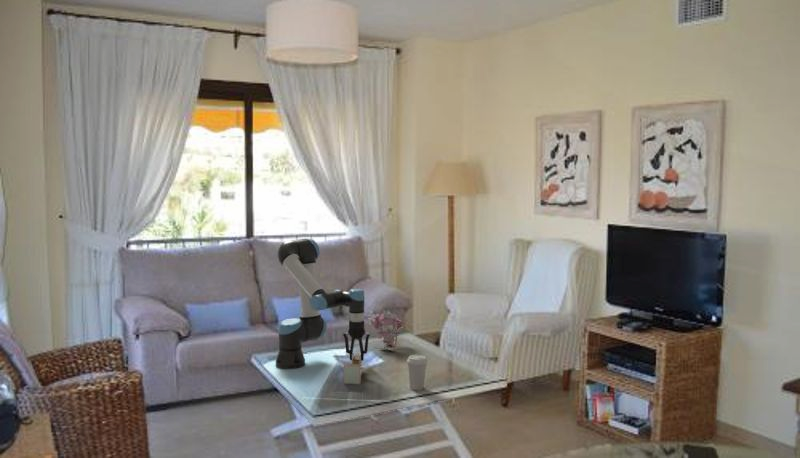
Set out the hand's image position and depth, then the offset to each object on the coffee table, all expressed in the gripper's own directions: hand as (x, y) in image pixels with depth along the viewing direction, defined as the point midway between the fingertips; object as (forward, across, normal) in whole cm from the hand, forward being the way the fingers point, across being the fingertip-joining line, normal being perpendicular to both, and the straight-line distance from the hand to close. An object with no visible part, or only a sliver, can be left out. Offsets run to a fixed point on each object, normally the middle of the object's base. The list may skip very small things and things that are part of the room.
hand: (356, 366), depth 332 cm
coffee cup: (+5, +31, -15) cm, 34 cm away
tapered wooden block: (0, 0, -3) cm, 3 cm away
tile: (+4, 0, -13) cm, 14 cm away
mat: (+5, 0, -18) cm, 19 cm away
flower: (+5, +10, +50) cm, 52 cm away
